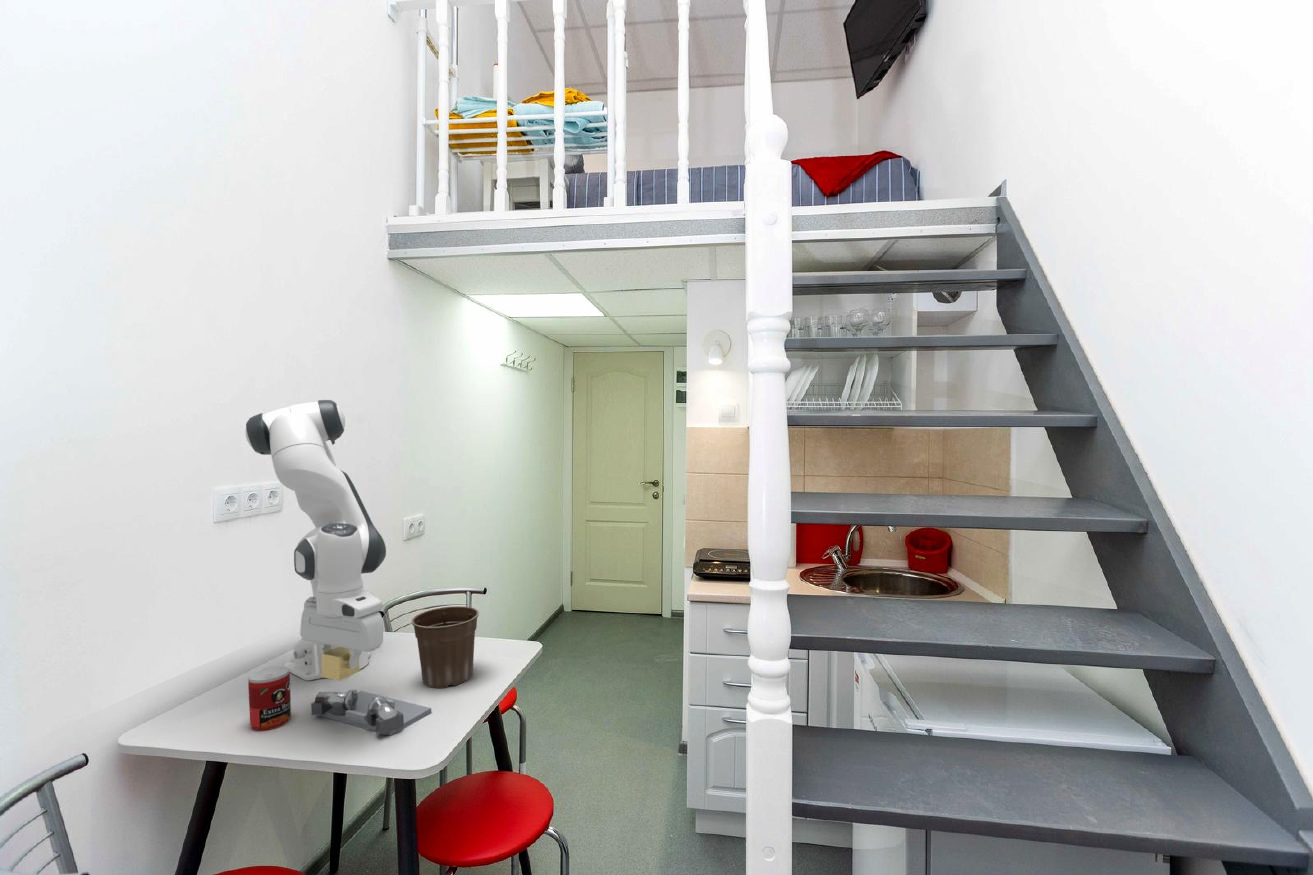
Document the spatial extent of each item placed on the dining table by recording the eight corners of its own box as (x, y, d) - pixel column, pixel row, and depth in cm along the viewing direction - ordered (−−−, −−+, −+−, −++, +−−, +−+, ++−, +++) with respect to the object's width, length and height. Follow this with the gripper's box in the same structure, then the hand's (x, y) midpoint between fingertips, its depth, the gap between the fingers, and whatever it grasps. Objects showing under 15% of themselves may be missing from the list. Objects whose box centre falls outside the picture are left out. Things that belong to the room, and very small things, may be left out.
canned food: (261, 734, 128) (259, 683, 128) (242, 725, 132) (240, 675, 132) (298, 719, 135) (296, 670, 134) (279, 711, 139) (278, 663, 139)
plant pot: (460, 694, 145) (458, 627, 145) (399, 690, 149) (397, 624, 148) (491, 667, 161) (490, 607, 161) (436, 664, 165) (434, 605, 164)
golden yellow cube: (321, 677, 128) (321, 653, 128) (341, 668, 133) (341, 645, 133) (339, 680, 127) (339, 657, 126) (359, 671, 131) (358, 648, 131)
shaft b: (403, 726, 128) (403, 705, 128) (380, 734, 125) (379, 712, 125) (388, 713, 134) (388, 693, 134) (366, 721, 131) (365, 700, 131)
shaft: (311, 715, 134) (310, 694, 134) (325, 705, 139) (324, 685, 139) (346, 715, 134) (345, 695, 134) (359, 705, 138) (358, 686, 138)
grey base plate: (318, 714, 137) (317, 705, 137) (360, 694, 146) (360, 685, 146) (390, 735, 127) (390, 725, 127) (431, 712, 136) (431, 702, 136)
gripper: (291, 599, 130) (292, 663, 131) (363, 611, 123) (364, 678, 123) (317, 591, 136) (318, 652, 137) (388, 602, 129) (388, 667, 129)
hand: (340, 665), depth 130 cm, fingers closed on golden yellow cube, 5 cm apart
